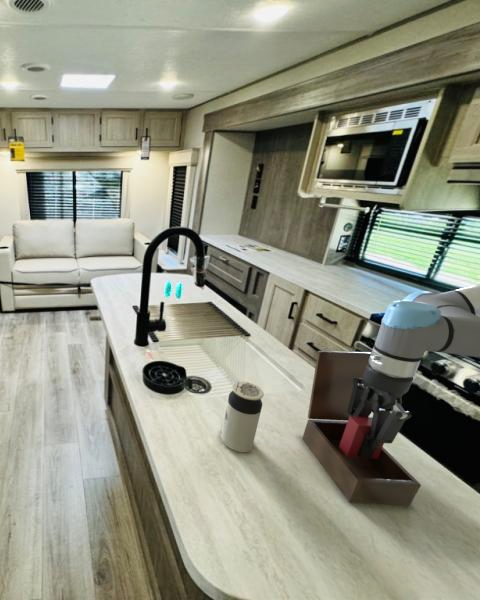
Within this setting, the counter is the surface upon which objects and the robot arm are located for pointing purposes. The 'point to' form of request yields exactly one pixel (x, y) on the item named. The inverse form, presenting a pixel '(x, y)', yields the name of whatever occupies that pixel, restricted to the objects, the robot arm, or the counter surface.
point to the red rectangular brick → (356, 437)
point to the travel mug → (242, 416)
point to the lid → (335, 383)
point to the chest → (360, 468)
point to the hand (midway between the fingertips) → (358, 449)
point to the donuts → (169, 287)
